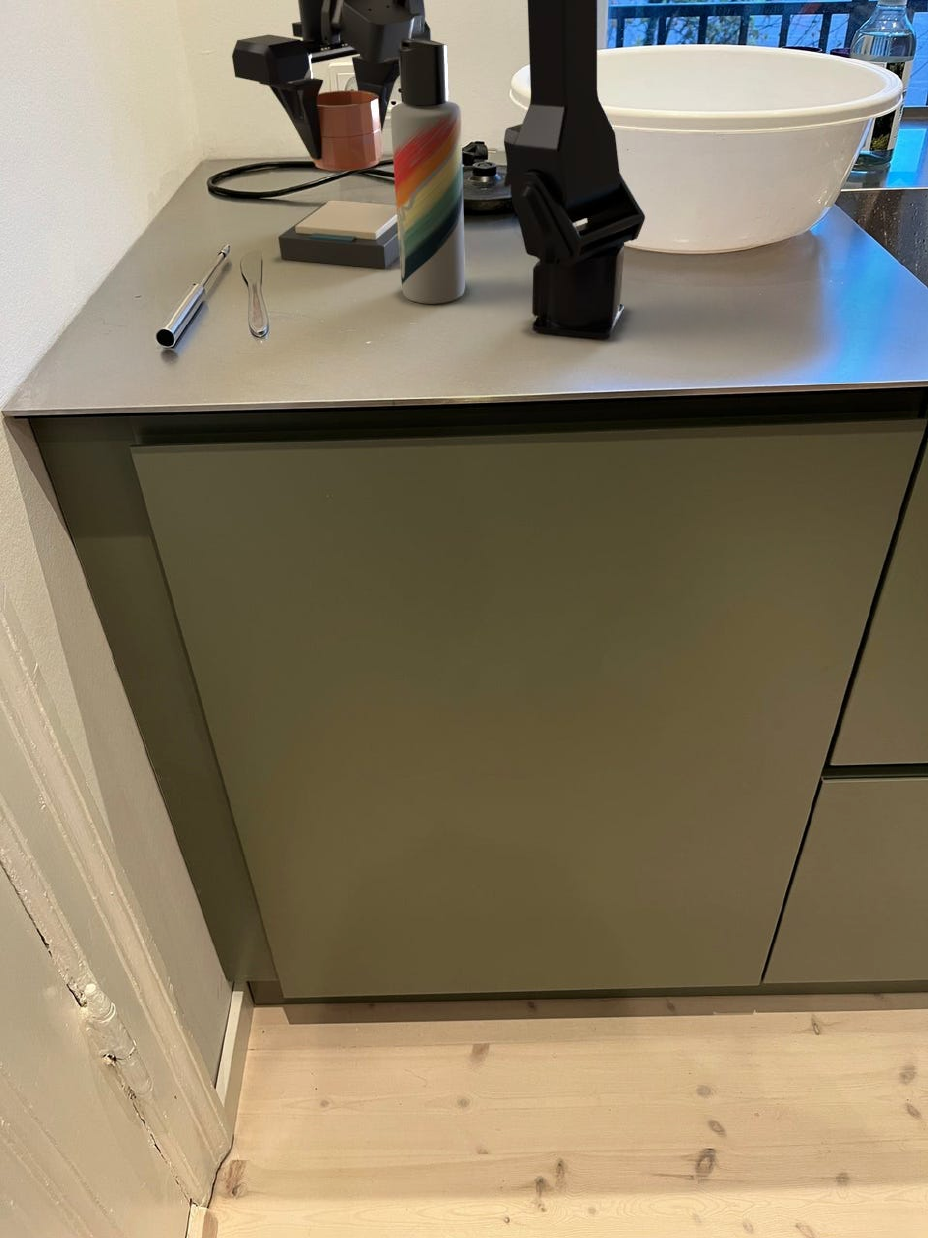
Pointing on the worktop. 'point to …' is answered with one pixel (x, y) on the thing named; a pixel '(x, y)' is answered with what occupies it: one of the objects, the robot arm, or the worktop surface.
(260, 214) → the worktop surface
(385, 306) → the worktop surface
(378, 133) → the plant pot
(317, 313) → the worktop surface
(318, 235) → the scale
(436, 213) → the lotion bottle
